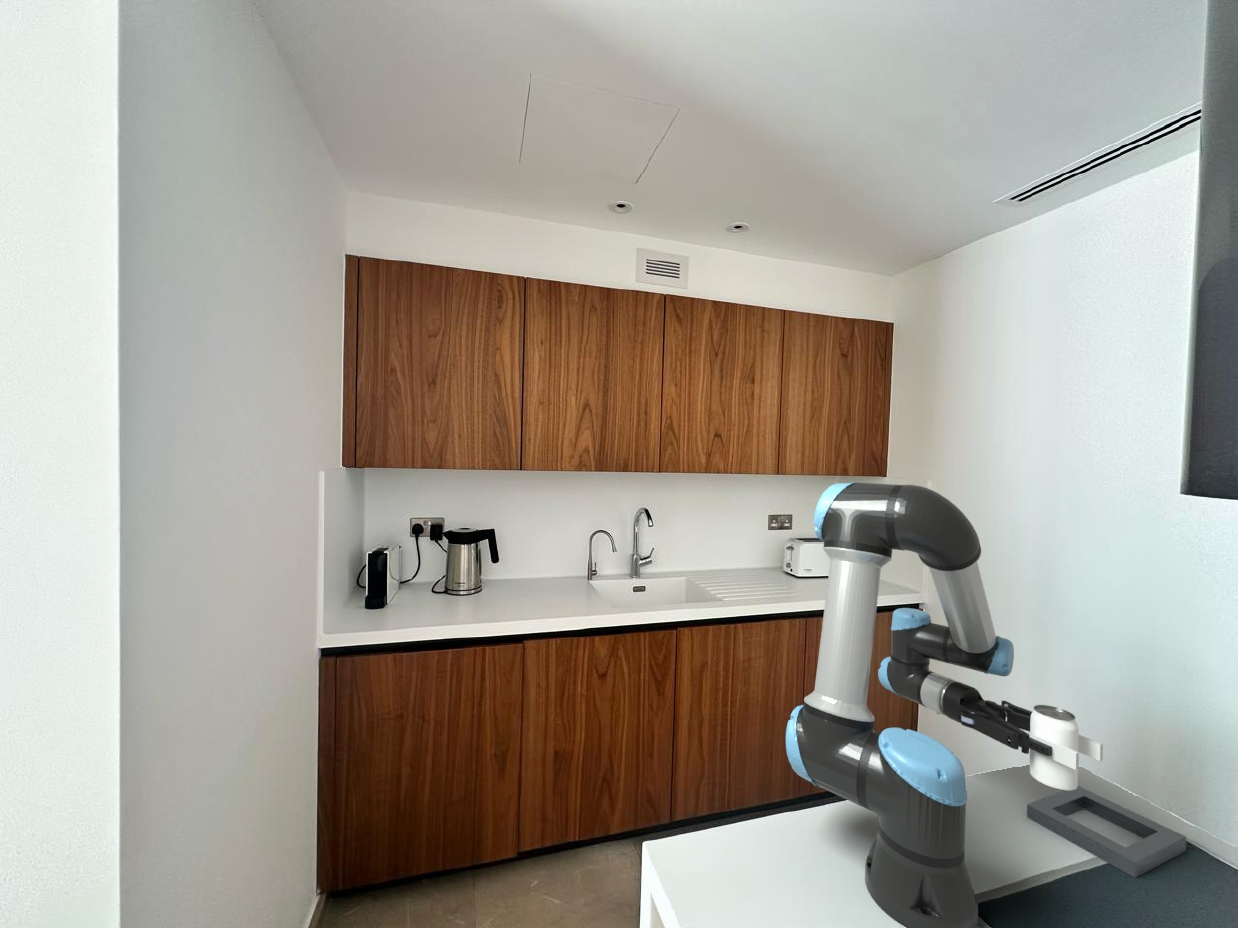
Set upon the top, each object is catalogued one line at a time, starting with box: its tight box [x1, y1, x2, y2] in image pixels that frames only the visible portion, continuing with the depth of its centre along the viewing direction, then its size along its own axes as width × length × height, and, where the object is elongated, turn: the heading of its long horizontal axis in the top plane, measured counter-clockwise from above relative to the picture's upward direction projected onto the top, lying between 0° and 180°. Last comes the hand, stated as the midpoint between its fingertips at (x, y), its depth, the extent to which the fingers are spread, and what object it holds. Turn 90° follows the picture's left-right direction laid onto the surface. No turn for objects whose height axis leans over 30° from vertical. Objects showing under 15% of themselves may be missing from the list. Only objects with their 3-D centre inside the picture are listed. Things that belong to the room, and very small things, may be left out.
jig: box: [1026, 785, 1187, 878], centre depth 97 cm, size 17×16×2 cm
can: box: [1029, 704, 1080, 792], centre depth 91 cm, size 6×6×12 cm
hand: (1089, 756), depth 86 cm, fingers closed on can, 6 cm apart
